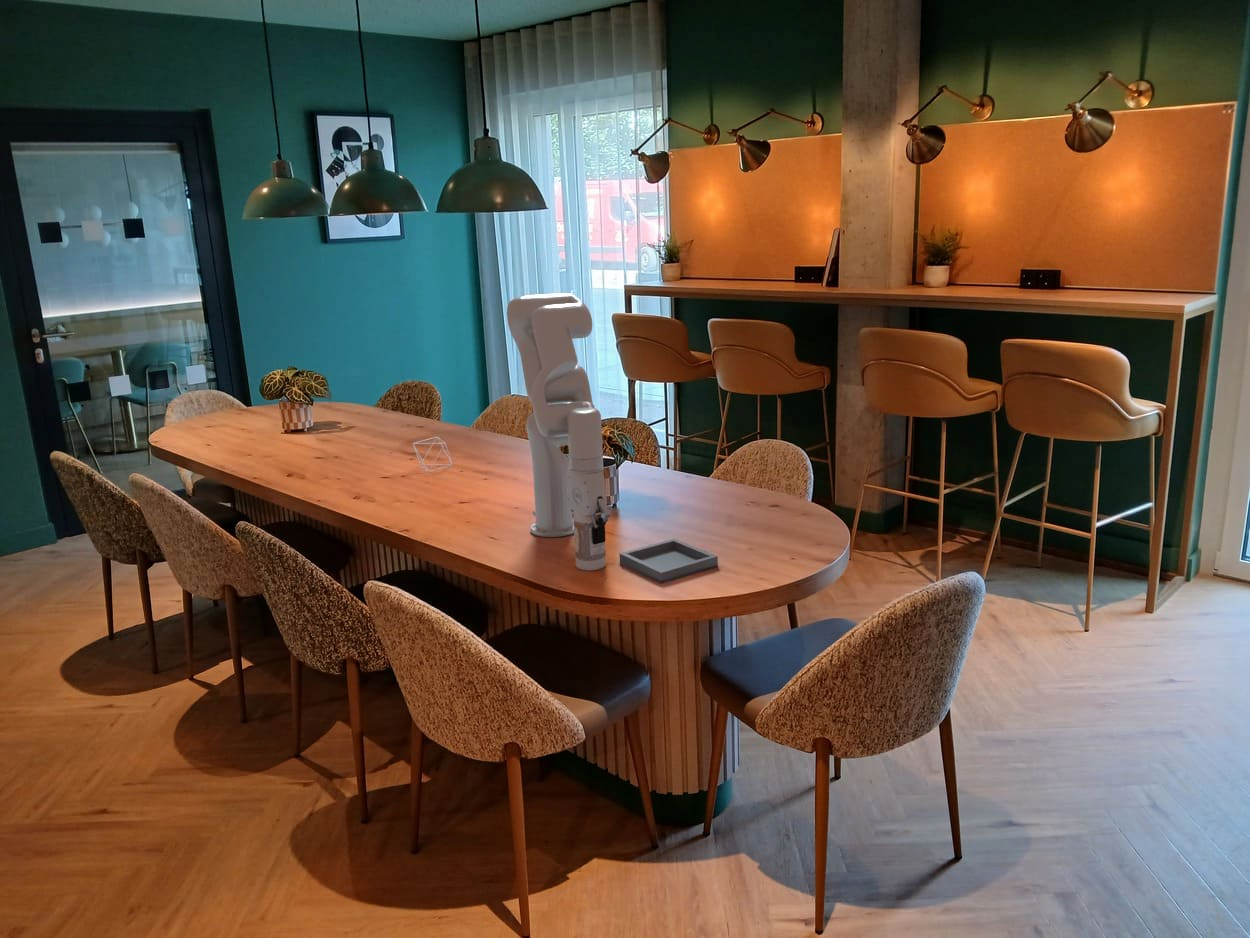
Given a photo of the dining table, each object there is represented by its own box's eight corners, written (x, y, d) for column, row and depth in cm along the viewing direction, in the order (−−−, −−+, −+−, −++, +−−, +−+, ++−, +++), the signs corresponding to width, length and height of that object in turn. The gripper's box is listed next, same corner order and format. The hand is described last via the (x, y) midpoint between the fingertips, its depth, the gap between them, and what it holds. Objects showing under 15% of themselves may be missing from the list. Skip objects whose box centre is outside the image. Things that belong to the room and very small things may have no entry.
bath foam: (573, 562, 222) (569, 479, 217) (603, 559, 224) (599, 477, 218) (578, 572, 216) (574, 487, 211) (608, 569, 217) (605, 485, 212)
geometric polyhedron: (408, 468, 312) (405, 442, 310) (432, 461, 321) (430, 435, 318) (435, 474, 305) (432, 446, 303) (459, 466, 314) (457, 439, 311)
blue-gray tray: (619, 563, 220) (619, 553, 220) (674, 548, 229) (674, 538, 229) (661, 583, 208) (661, 572, 207) (717, 566, 216) (717, 556, 216)
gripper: (552, 458, 218) (556, 532, 223) (593, 473, 204) (596, 552, 209) (579, 453, 222) (583, 526, 227) (622, 467, 208) (624, 544, 213)
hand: (589, 538), depth 218 cm, fingers closed on bath foam, 7 cm apart
